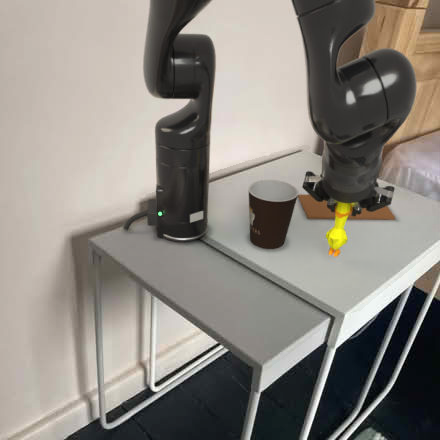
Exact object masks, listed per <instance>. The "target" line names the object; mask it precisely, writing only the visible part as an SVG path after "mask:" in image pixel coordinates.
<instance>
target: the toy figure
mask: <svg viewBox="0 0 440 440" xmlns="http://www.w3.org/2000/svg"><path fill="white" fill-rule="evenodd" d="M352 209H353V207H352V204H351V203H342V202H337V205H336V207H335V219H334V226H332V227H331V228H330V229H329V230H327V231H326V233H325V239H326V240H327V244H328V246H329V249H328V255H327V256H333V257H335V258H337V257H338V256H340V254H341V249H340V248H341V247H343V246H344V245H347V243H348V239H349V237H348V236H347V235H348V234H347V232H346V230H345V225H346V223H347V220H348V219H347V217H348V215H350V213H351V212H352Z"/></svg>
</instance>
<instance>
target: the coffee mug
mask: <svg viewBox="0 0 440 440" xmlns="http://www.w3.org/2000/svg"><path fill="white" fill-rule="evenodd" d="M298 195H299V190H298V189H297V188H296V187H295V186H294V185H292V184H291V183H288V182H286V181H281V180H275V179H263V180H257V181H254V182H252V183H251V184H249V186H248V212H249V213H248V217H249V241H250V243H251V244H252V245H253V246H255V247H257V248H260V249H263V250H277V249H280V248H281V247H284V245H285V243H286V239H287V236H288V232H289V228H290V226H291V225H290V224H291V221H292V217H293V214H294V210H295V206H296V203H297V199H298Z"/></svg>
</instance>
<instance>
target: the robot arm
mask: <svg viewBox="0 0 440 440" xmlns="http://www.w3.org/2000/svg"><path fill="white" fill-rule="evenodd" d="M212 2H213V0H149V8H148V17H147V24H146V32H145V39H144V46H143V47H144V48H143V56H142V74H143V81H144V84H145V87H146V90H147V91H148V93H149V95H151V96H152V97H154V98H157V99H159V100H189V101H188V102H187V103H186V105H184V106H183V107H182V108H180V109H179V110H177V111H175V112H173V113H171V114H168V115H165V116H163V117H161V118H160V119H159V120H157V122H155V127H154V142H155V143H154V144H155V145H154V146H155V175H156V177H155V179H156V184H155V199H154V198H153V199H149V198H148V202H147V209H146V210H144V211H142V212H138V213H135V214H134V215H132V216H131V217H129V218H128V219H127V221H126V222H125V224H124V225H123V229H124V230H126V231H128V230H129V228H130V227H131V226H132V224H133V223H134V222H135V221H138V220H139V219H141V218H144V217H147V226H149V227H150V226H154V227H156V236H157V238H159V239H161V238H162V239H166V240H168V241H172V242H175V243H190V242H195V241H198V240H200V239H202V238H204V237H205V236H206V235H207V234H208V231H209V229H208V228H209V225H208V223H209V220H208V219H209V218H208V215H209V193H210V192H209V190H210V189H209V188H210V163H211V162H210V161H211V159H210V158H211V137H212V136H211V135H212V134H211V132H212V123H213V122H212V120H213V119H212V118H213V105H214V104H213V103H214V94H215V93H214V92H215V84H216V83H215V82H216V72H217V71H216V70H217V67H216V66H217V55H216V48H215V44H214V41H213V40H212V38H211V37H210V36H209V35H207V34H204V33H203V34H202V33H180V32H182V31H183V29H185V27H186V26H188V25H189V23H191V22H192V21H194V19H195V18H197V16H198V15H199V14H200V13H201V12H203V11H204V10H205V9H206V7H208V6H209V5H210V4H211V3H212ZM290 2H291V6H292V8H293V12H294V14H295V16H296V21H297V24H298V28H299V31H300V36H301V42H302V49H303V56H304V66H305V83H306V85H305V86H306V107H307V114H308V119H309V123H310V126H311V127H312V129H313V131H314V133H315V134H316V135H317V136H318V137H319V138H320V139H321V140H322V141H323V151H322V155H321V173H320V174H319V175H316V174H315V173H314V172H313V171H309V170H307V171H305V174H304V177H303V182H302V186H301V188H302V189H303V190H304V191H305V192H306V193H307V194H308V195H311V196H312V197H313V198H314V199H315V200H316V201H318V202H323V200H325V201H327V208H328V209H331V212H335V207H336V205H337V202H342V203H351V204H352V207H353V210H352V216H355V217H356V214H359V215H360V214H361V211H362V209H363V208H366V210H367V211H369V212H374V211H376V210H378V209H381V208H383V207H385V206H387V207H388V206H390V205H392V201H393V198H394V195H395V194H394V193H395V187H394V186H393V185H386V186H384V187H383V186H379V182H378V177H379V173H380V170H381V167H382V164H383V151H384V147H385V145H386V144H387V143H388V142H389V141H390V140H391V139H392V138H393V136H395V134H396V133H397V131H398V130H399V129H400V128H401V127H402V126H403V125H404V123H405V122H406V120H407V118H408V117H409V115H410V114H411V111H412V109H413V107H414V104H415V101H416V97H417V89H418V88H417V87H418V85H417V77H416V73H415V69H414V66H413V65H412V63H411V61H410V59H409V58H408V57H407V56H406V55H405V54H404V53H403V52H401V51H399V50H397V49H395V48H390V47H383V48H379V49H378V48H377V49H375V50H373V51H370V52H368V53H366V54H364V55H362V56H360V57H358V58H356V59H353V60H352V61H349V62H347V63H345V64H343V65H341V66H338V64H337V63H338V59H339V54H340V51H341V49H342V47H343V46H344V44H346V42H347V41H348V40H350V39H351V38H352V37H353V36H354V35H356V34H358V33H359V32H360V31H361V30H362V29H364V28H365V27H366V26H367V25H368V24H369V23H370V22H371V21H372V20H373V18H374V17H375V14H376V0H290ZM337 66H338V67H337Z"/></svg>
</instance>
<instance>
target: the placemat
mask: <svg viewBox="0 0 440 440" xmlns="http://www.w3.org/2000/svg"><path fill="white" fill-rule="evenodd" d="M297 198H298V200H299V202H300V204H301V206H302V208H303V211H304V213H305V216H306V218H307V219H308V220H335V212H331V209H328V208H327V201H325V200H323V202H318V201H316V200H315V199H314V198H313V197H312V196H311V195H310V194H298V196H297ZM352 210H353V209H352ZM347 220H379V221H380V220H383V221H384V220H386V221H387V220H389V221H393V220H396V217H395V215H394V214H393V212H392V211H391V209H390V208H389V207H388V206H385V207H383V208H381V209H378V210H376V211H374V212H369V211H367V210H366V208H363V209H362V211H361V214H360V215H359V214H356V217H355V216H352V212H351V213H350V215H348V217H347Z"/></svg>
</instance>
